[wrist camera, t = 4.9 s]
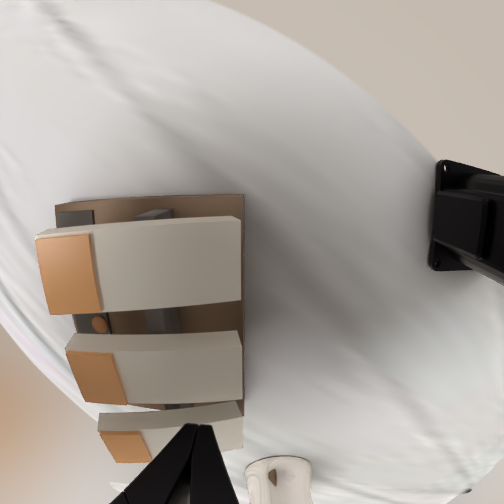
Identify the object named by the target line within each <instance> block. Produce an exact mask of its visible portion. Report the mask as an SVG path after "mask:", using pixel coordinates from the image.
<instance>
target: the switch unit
mask: <svg viewBox="0 0 504 504" xmlns="http://www.w3.org/2000/svg"><path fill="white" fill-rule="evenodd" d="M55 215H56V226H57V228H65V227H74V226H85V225H95V224H107V223H119V222H131V221H145V220H160V219H176V218H194V217H214V216H233V217H235V218H237V219H239V220H241V300H237V301H229V302H220V303H211V304H201V305H191V306H181V307H170V308H158V309H145V310H132V311H116V312H101V313H87V314H72V316H73V320H74V324H75V327H76V331H77V333H80V334H113V335H149V334H185V333H205V332H221V331H235V330H237V332H238V335H239V339H240V342H241V345H242V392H243V399H239V400H229V401H218V402H203V403H180V404H142V403H127V404H129V405H134V406H140V407H145V408H151V409H158V410H173V409H182V408H191V407H199V406H206V405H212V404H219V403H225V402H230V401H236V403H237V405H238V408H239V410H240V412H241V415H242V416H244V194H219V195H173V196H149V197H130V198H115V199H101V200H89V201H78V202H69V203H64V204H59V205H55Z"/></svg>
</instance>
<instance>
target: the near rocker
mask: <svg viewBox="0 0 504 504" xmlns="http://www.w3.org/2000/svg"><path fill="white" fill-rule="evenodd" d="M35 238H36V240H35V243H36V250H37V257H38V263H39V268H40V273H41V278H42V283H43V288H44V292H45V296H46V300H47V304H48V308H49V312H50V315H60V314H87V313H101V312H116V311H132V310H145V309H158V308H170V307H181V306H191V305H201V304H211V303H220V302H229V301H237V300H241V220H239V219H237V218H235V217H233V216H214V217H194V218H176V219H160V220H145V221H131V222H119V223H107V224H95V225H85V226H74V227H65V228H55V229H48V230H46V231H44V232H42V233H40V234H38V235H36V236H35Z"/></svg>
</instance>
